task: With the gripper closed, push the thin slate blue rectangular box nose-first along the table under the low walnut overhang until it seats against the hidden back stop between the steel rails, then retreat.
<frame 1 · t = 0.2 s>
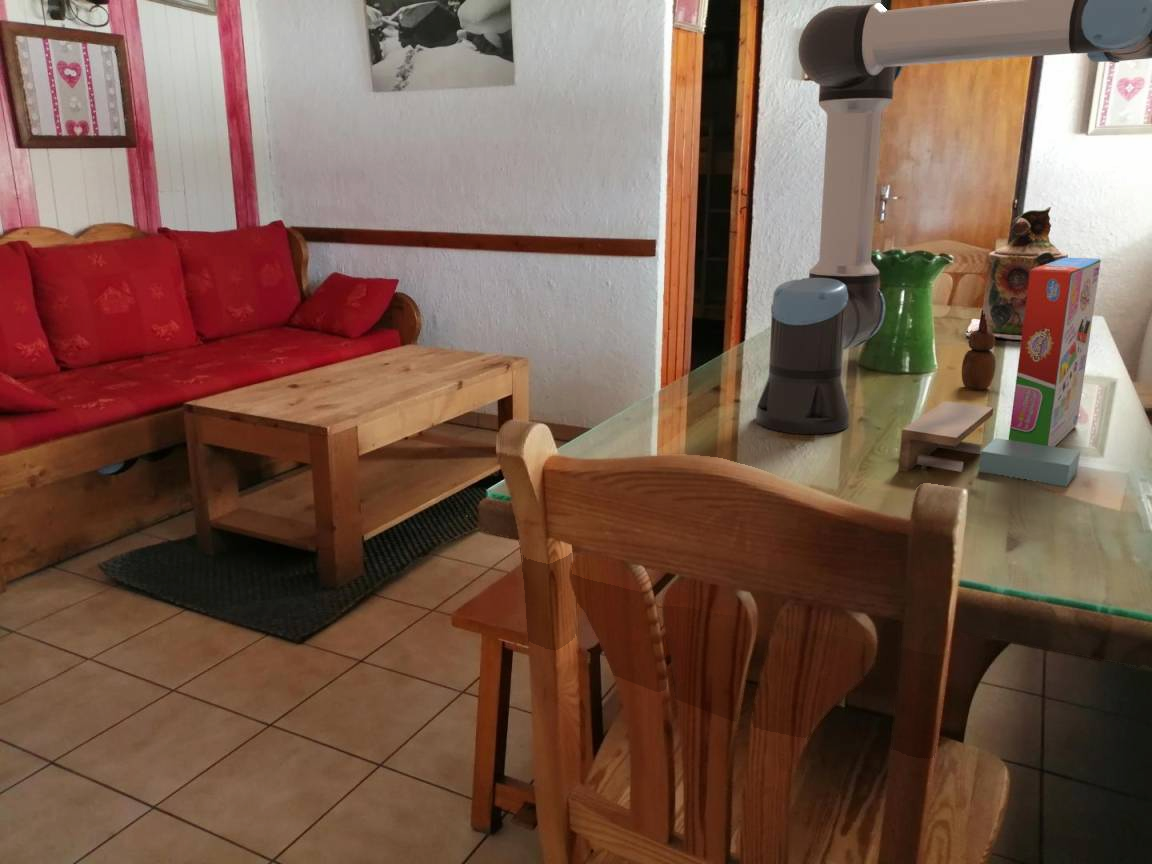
wooden figurine: (975, 389, 175), on the table
slate blue rectangular box: (1027, 471, 126), on the table
game box: (1043, 439, 142), on the table
overhang: (945, 457, 132), on the table
cookie jar: (1018, 335, 232), on the table
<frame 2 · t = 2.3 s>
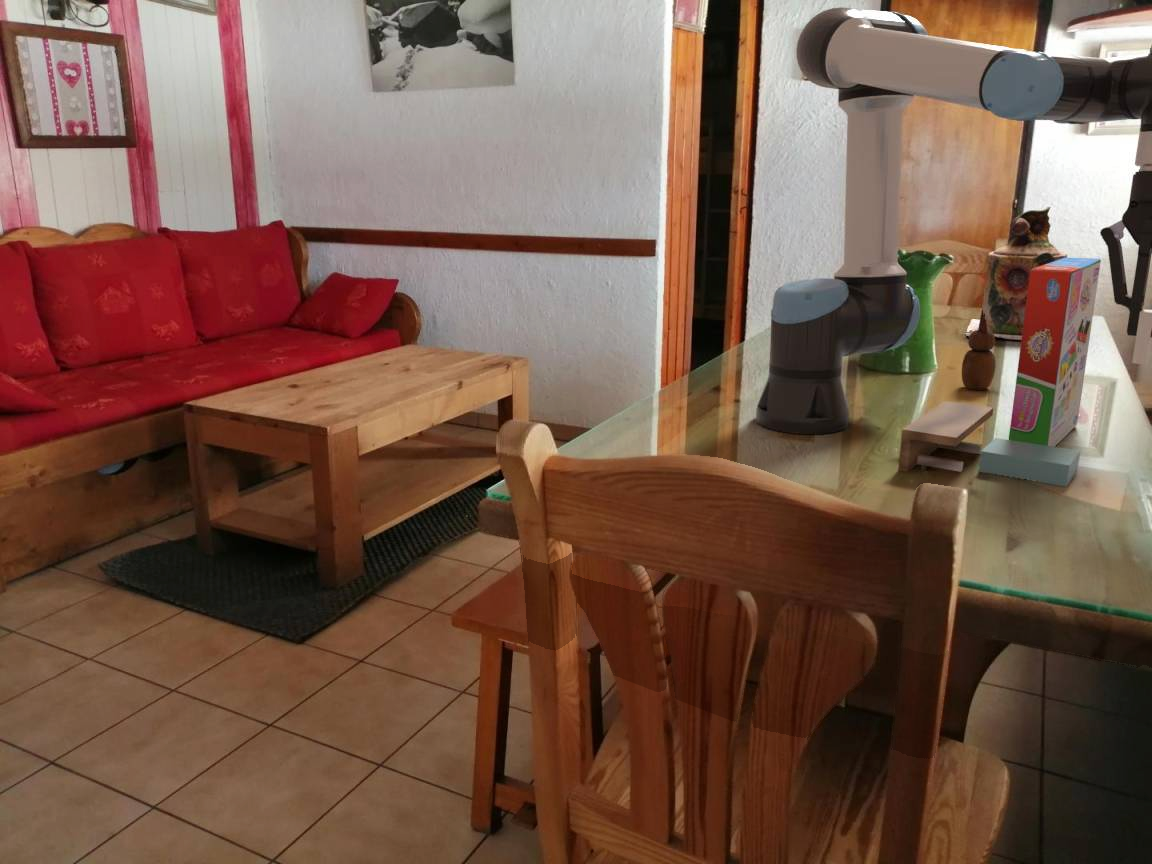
hand: (1140, 361, 115), 17 cm above the table, fingers closed
nothing on the table moved.
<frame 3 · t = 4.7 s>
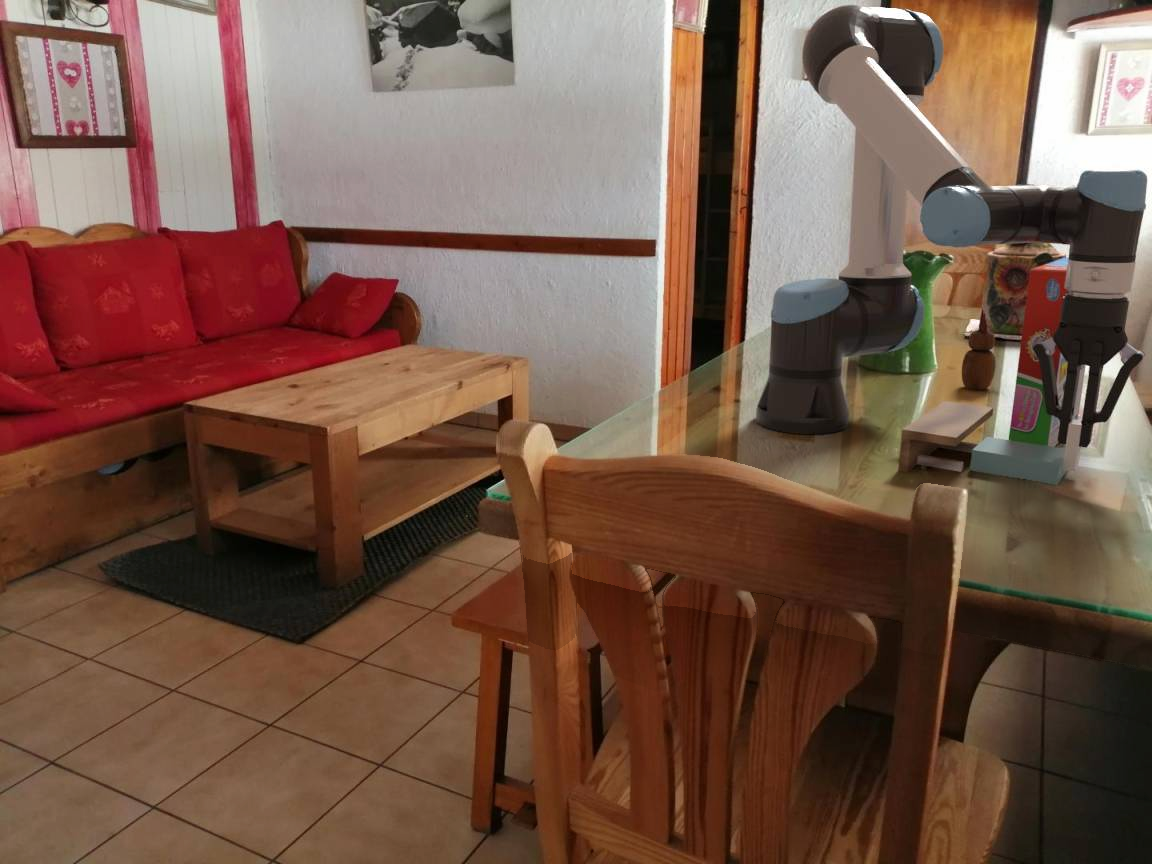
hand: (1069, 468, 123), 1 cm above the table, fingers closed
slate blue rectangular box: (1018, 470, 127), on the table
everything else where it was.
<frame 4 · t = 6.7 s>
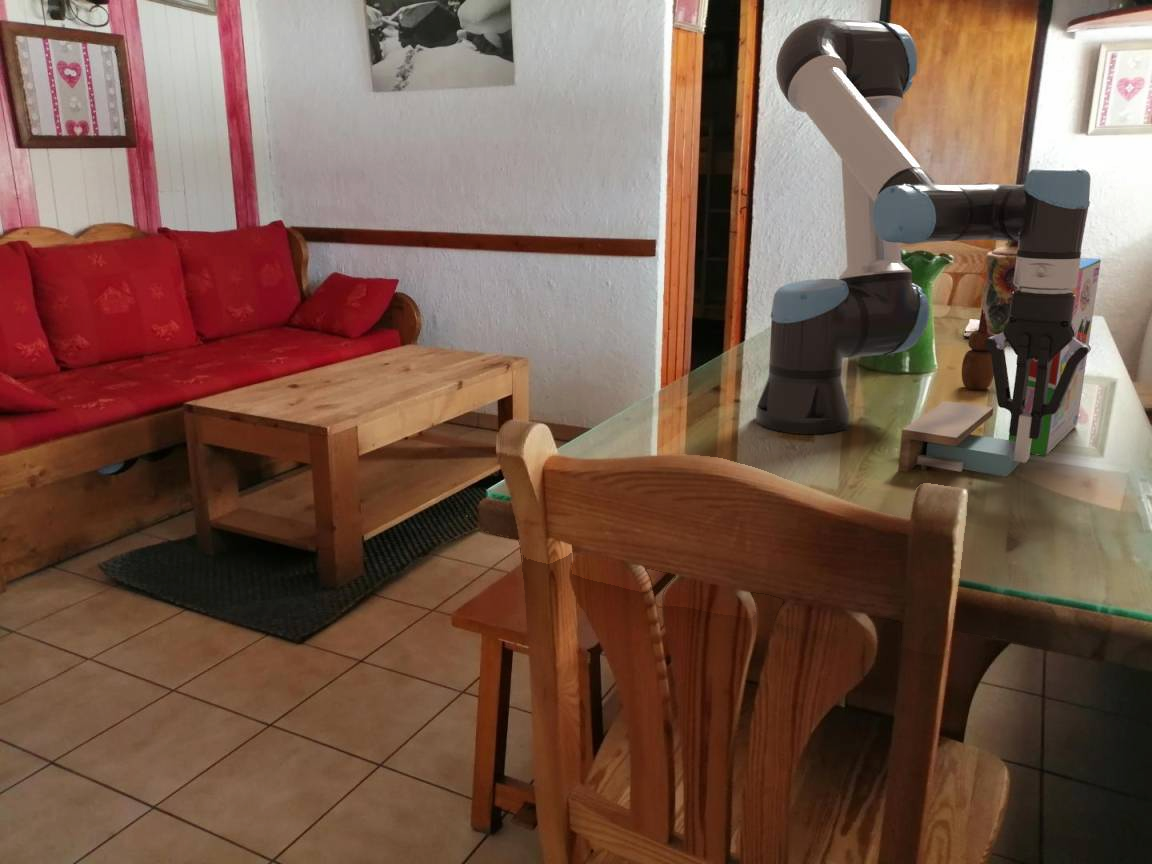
hand: (1021, 459, 126), 2 cm above the table, fingers closed
slate blue rectangular box: (972, 462, 130), on the table, touching gripper
everything else where it was.
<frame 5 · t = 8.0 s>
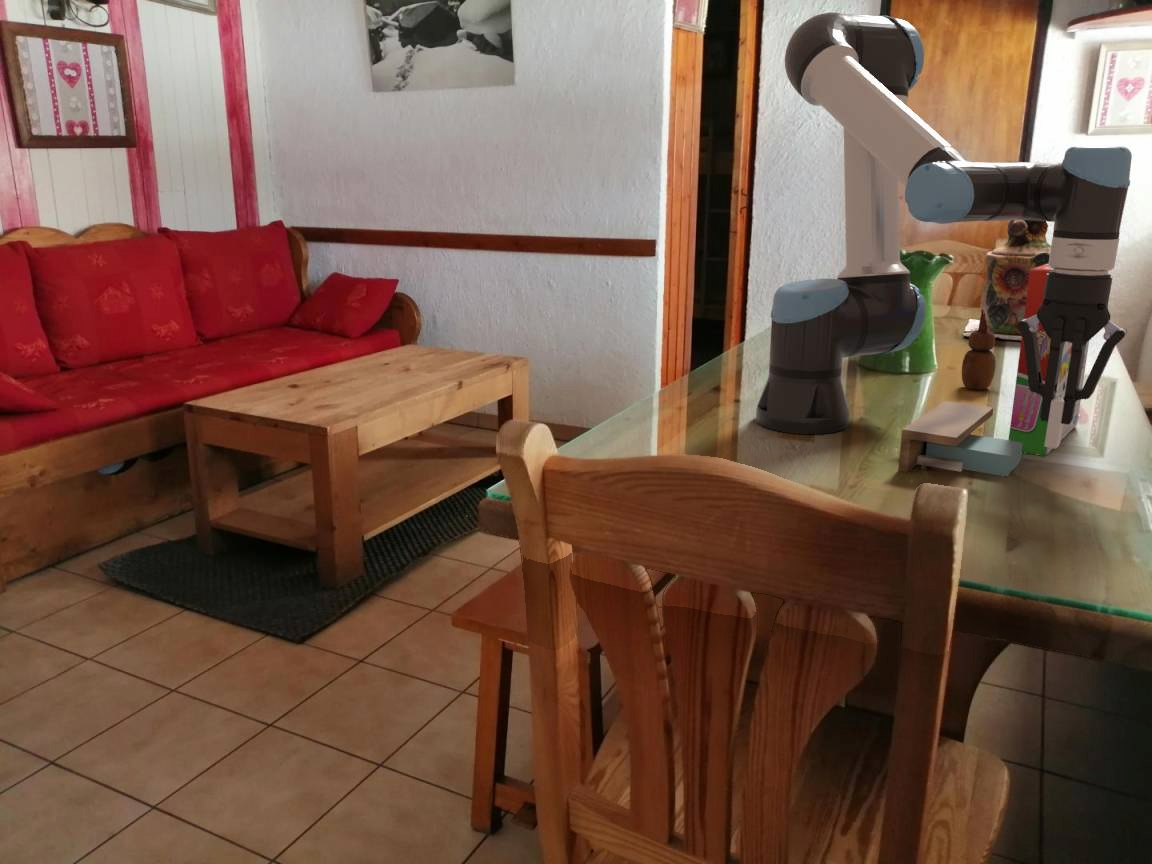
hand: (1052, 444, 123), 4 cm above the table, fingers closed
slate blue rectangular box: (972, 462, 130), on the table
everything else where it was.
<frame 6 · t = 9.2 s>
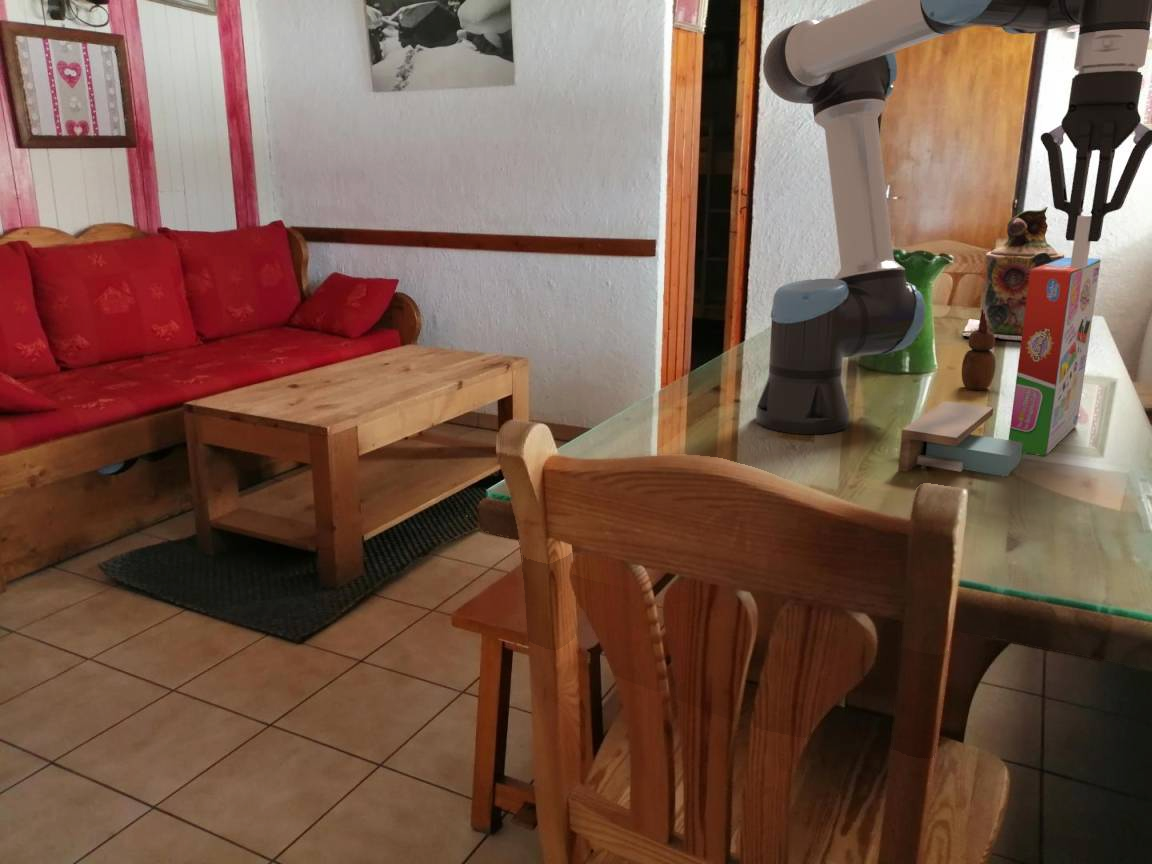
hand: (1078, 267, 117), 28 cm above the table, fingers closed
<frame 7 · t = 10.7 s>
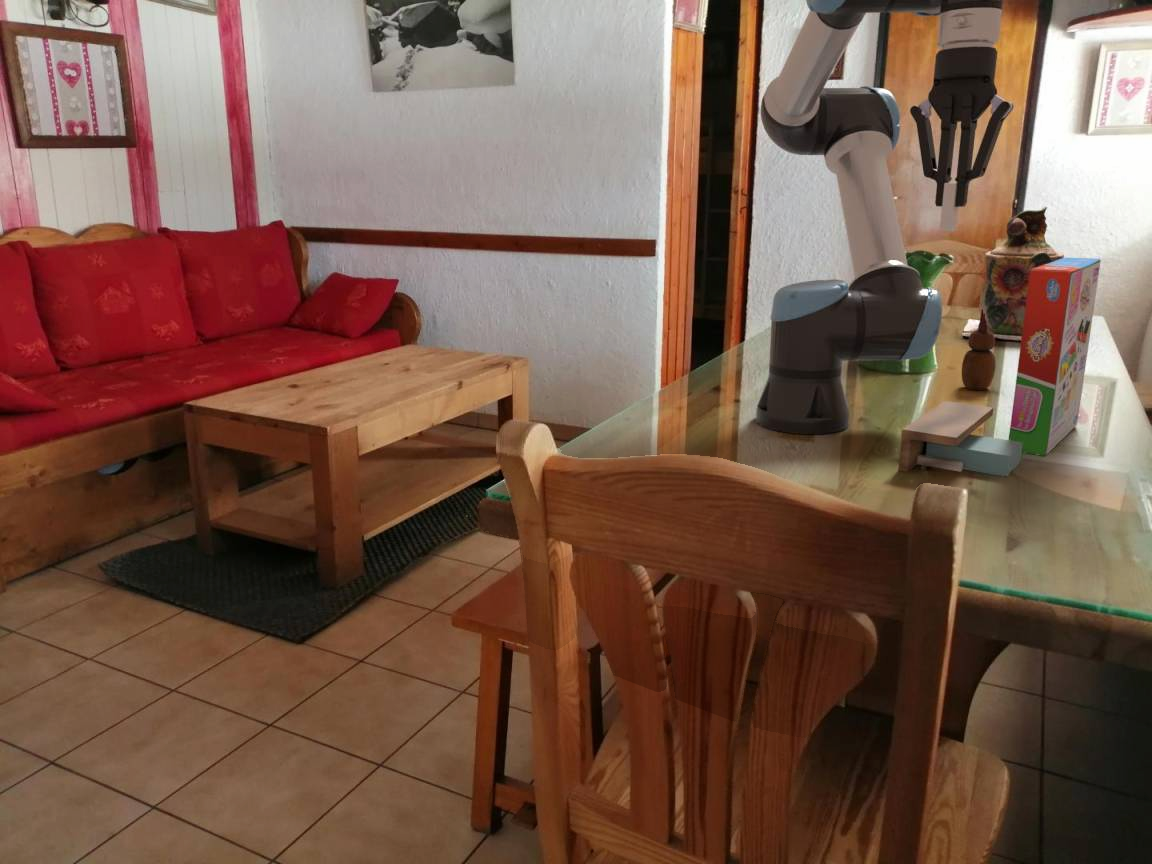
hand: (947, 231, 125), 32 cm above the table, fingers closed
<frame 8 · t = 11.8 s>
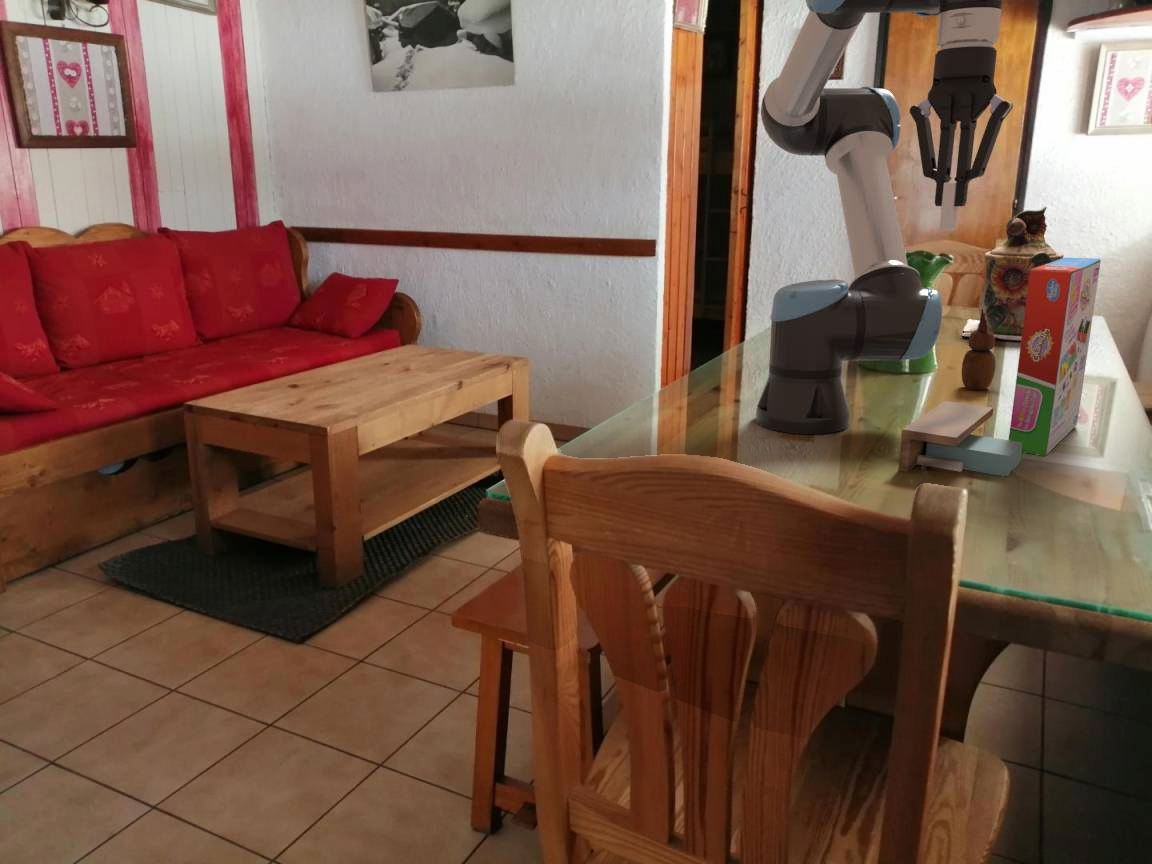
hand: (947, 231, 125), 32 cm above the table, fingers closed
at the end: slate blue rectangular box 0.8 cm from the target spot on the overhang, point 0.0 cm above the overhang's base; slate blue rectangular box tilted 0° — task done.
